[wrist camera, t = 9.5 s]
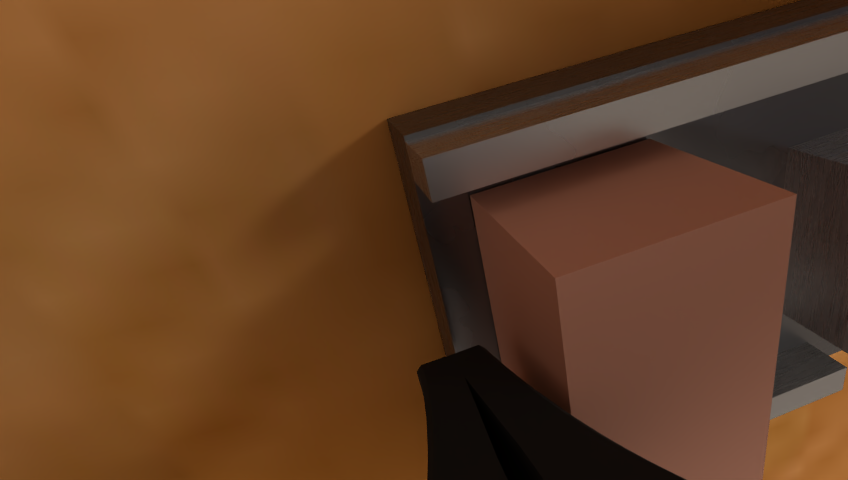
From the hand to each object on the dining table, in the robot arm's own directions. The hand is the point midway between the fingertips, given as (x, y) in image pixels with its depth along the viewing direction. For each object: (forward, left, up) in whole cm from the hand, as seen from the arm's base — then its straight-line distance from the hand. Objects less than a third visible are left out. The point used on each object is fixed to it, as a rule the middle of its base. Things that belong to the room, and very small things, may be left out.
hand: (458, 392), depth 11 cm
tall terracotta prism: (-3, 0, -1) cm, 4 cm away
